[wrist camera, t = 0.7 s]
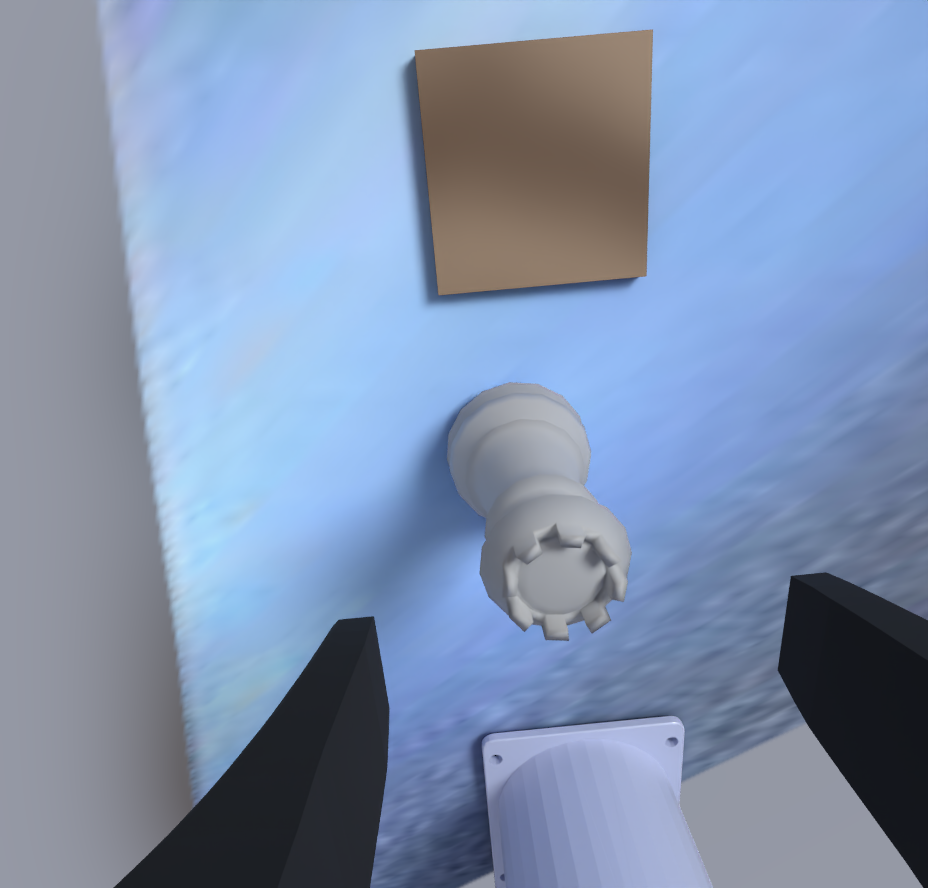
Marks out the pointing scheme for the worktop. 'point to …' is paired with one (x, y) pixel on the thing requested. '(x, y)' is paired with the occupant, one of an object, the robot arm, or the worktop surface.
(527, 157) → the walnut tile
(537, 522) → the rook chess piece
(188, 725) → the worktop surface
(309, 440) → the worktop surface
